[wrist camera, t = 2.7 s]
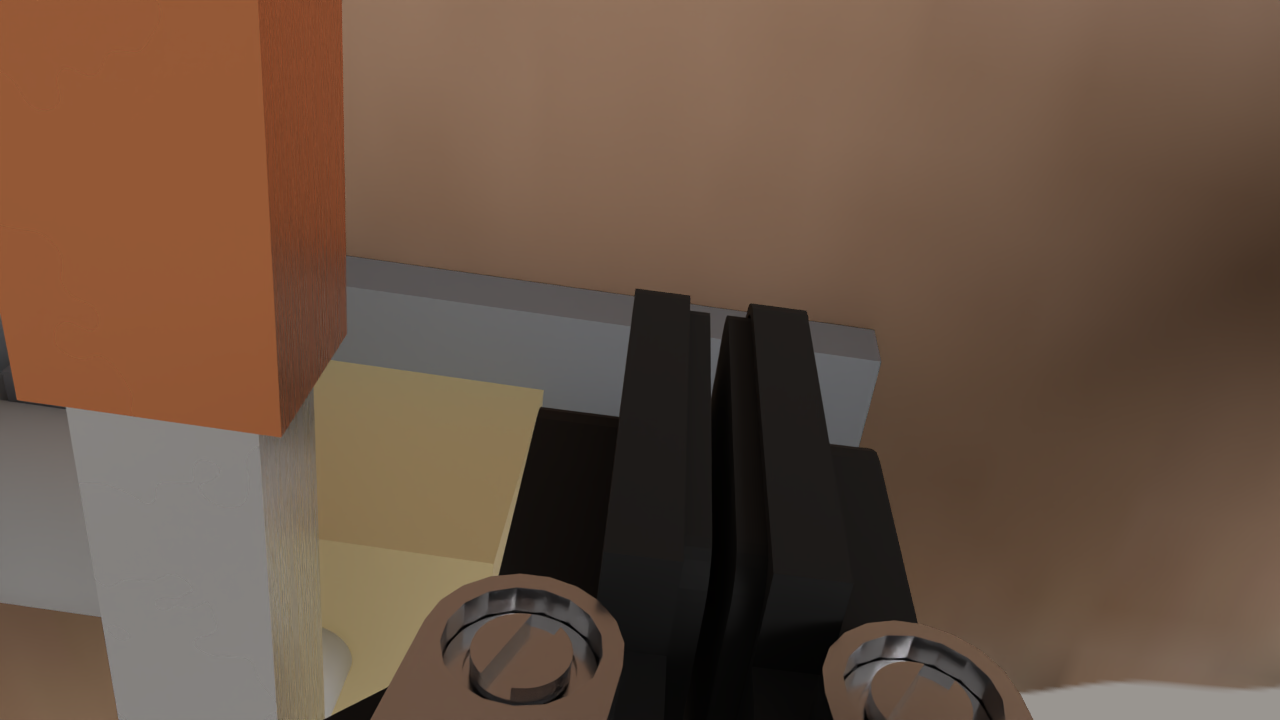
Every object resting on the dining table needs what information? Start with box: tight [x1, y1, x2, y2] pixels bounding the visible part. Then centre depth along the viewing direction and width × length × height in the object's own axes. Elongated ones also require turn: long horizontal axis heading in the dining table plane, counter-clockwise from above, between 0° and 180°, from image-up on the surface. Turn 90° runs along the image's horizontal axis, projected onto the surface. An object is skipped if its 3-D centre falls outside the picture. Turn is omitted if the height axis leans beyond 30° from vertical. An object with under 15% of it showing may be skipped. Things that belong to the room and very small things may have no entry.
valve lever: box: [0, 0, 347, 720], centre depth 15 cm, size 3×18×3 cm, turn 173°
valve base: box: [0, 256, 881, 718], centre depth 25 cm, size 22×10×10 cm, turn 83°
